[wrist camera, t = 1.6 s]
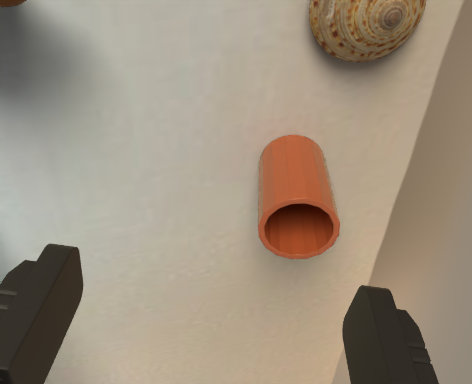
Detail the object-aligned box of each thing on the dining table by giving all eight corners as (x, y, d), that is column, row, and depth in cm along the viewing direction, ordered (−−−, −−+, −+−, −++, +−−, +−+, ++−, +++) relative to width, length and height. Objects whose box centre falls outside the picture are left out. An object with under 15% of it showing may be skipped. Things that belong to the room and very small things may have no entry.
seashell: (335, -79, 27) (449, -28, 25) (351, -71, 31) (448, -27, 30) (284, 41, 31) (378, 90, 30) (304, 33, 36) (387, 75, 34)
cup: (292, 199, 43) (298, 270, 35) (246, 165, 41) (242, 232, 33) (338, 161, 40) (356, 228, 32) (291, 122, 38) (298, 184, 30)
